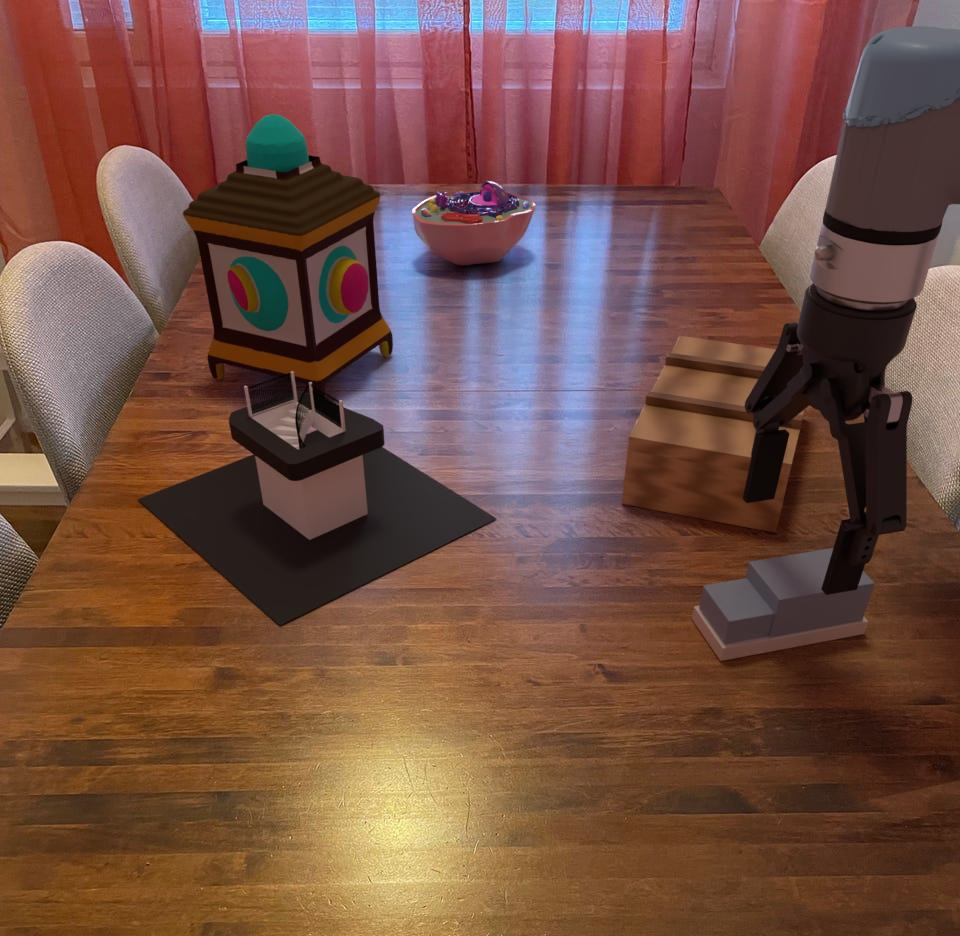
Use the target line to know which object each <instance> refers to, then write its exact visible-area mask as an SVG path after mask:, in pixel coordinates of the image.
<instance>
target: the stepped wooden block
mask: <svg viewBox="0 0 960 936" xmlns="http://www.w3.org/2000/svg"><path fill="white" fill-rule="evenodd" d="M776 349H777V348H769V347H762V346H756V345H748V344H742V343H734V342H726V341H720V340H712V339H707V338H706V339H705V338H699V337H692V336H684V335H679V337H678V338H677V340H676V343H675V345H674V346H673V348H672V349H671V352H667V354H666V356H665V361H664V362H665V363H664V366H663V368H662V370H661V372H660V373H659V376H658V378H657V380H656V382H655V383H654V386H653V388H652V390H648V392H647V394H646V395H645V401H644V406H643V408H642V410H641V411H640V414H639V416H638V417H637V420H636V421H635V423H634V426H633V428H632V429H631V431H630V433H629V435H628V441H627V451H626V458H625V459H626V461H625V469H624V478H623V486H622V487H623V488H622V496H621V504H622V505H626V506H632V507H637V508H641V509H646V510H647V509H648V510H653V511H658V512H663V513H668V514H672V515H673V514H674V515H678V516H684V517H688V518H695V519H700V520H704V521H710V522H715V523H721V524H727V525H732V526H737V527H743V528H749V529H753V530H758V531H763V532H769V533H773V534H774V533H776V532H777V529H778V524H779V520H780V516H781V513H782V508H783V504H784V500H785V496H786V491H787V487H788V483H789V478H790V474H791V470H792V466H793V461H794V457H795V453H796V449H797V444H798V440H799V436H800V432H801V428H802V424H803V420H804V416H805V412H806V408H805V409H804V410H803V411H802V412H801V413H799V414H798V415H797V416H796V417H794V418H793V419H792V420H791V422H788V423H789V424H792V425H790V426H783V427H779V430H784V429H786V430H787V431H788V432H789V433H790V434H789V439H788V443H787V447H786V451H785V455H784V460H783V464H782V468H781V472H780V477H779V481H778V485H777V489H776V493H775V498H774V499H771V500H765V501H758V502H751V503H746V502H745V501H744V500H743V494H744V490H745V485H746V480H747V476H748V471H749V466H750V462H751V452H752V447H753V443H754V437H755V433H756V429H755V428H754V426H753V419H754V415H753V413H747V412H746V410H745V401H746V399H747V398H748V396H749V394H750V392H751V391H752V389H753V387H754V386H755V384H756V382H757V381H758V379H759V377H760V376H761V374H762V372H763V371H764V369H765V367H766V366H767V364H768V362H769V361H770V359H771V357H772V355H773V354H774V352H775V350H776Z"/></svg>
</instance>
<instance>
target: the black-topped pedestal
mask: <svg viewBox="0 0 960 936" xmlns="http://www.w3.org/2000/svg"><path fill="white" fill-rule="evenodd" d="M287 375H288V377H289V375H290V378H289V379H288V378H287V379H286V376H287ZM284 376H285V379H284ZM282 377H283V378H282ZM243 389H244V395H245V402H246V406H244V407H242V408H239V409H236V410H233V411H232V412H230V414H229V417H228V424H229V425H228V426H229V430H230V435H231V436H230V437H231V439H232V440H233V441H234V442H236V443H237V444H238V445H240V446H241V447H243V448H244V449H245V450H247V451H248V452H249V453H251V454H250V455H248V456H246V457H244V458H240V459H238V460H236V461H233V462H231V463H228V464H225V465H222V466H220V467H217V468H214V469H212V470H209V471H207V472H204V473H201V474H199V475H197V476H194V477H191V478H188V479H186V480H183V481H180V482H178V483H175V484H173V485H171V486H168V487H165V488H163V489H160V490H157V491H155V492H152V493H150V494H148V495H144V496H142V497H139V498H137V500H138V501H139V502H140V504H142V506H144V507H145V508H147V510H148V511H150V512H151V513H153V514H154V515H155V517H157V518H158V519H159V520H160V521H161V522H163V523H164V525H166V526H167V527H168V528H169V529H170V530H171V531H173V532H174V533H175V534H176V535H177V536H178V537H179V538H180V539H181V540H183V541H184V542H185V543H186V544H187V545H189V546H190V547H191V548H192V549H193V550H194V552H196V553H198V554H199V555H200V556H201V557H202V558H203V559H204V560H206V562H208V563H209V564H210V565H211V566H213V568H214V569H215V570H217V571H218V572H219V573H220V574H221V575H222V576H223V577H225V578H226V579H227V580H228V581H229V582H230V583H232V585H233V586H234V587H236V588H237V589H238V590H239V591H240V592H241V593H243V594H244V595H245V596H246V597H247V598H248V599H249V600H250V601H251V602H253V603H254V604H255V605H256V606H257V607H258V608H259V609H260V610H262V612H264V613H265V614H267V616H269V617H270V618H271V619H272V620H273V621H274V622H275V623H276V624H278V625H279V626H282V625H284V624H286V623H288V622H290V621H291V620H292V621H293V620H294V619H296V618H299V617H300V616H302V615H305V614H307V613H309V612H311V611H313V610H314V609H317V608H319V607H320V606H323V605H324V604H326V603H328V602H330V601H332V600H335V599H337V598H339V597H341V596H343V595H345V594H347V593H349V592H351V591H353V590H355V589H357V588H359V587H361V586H363V585H365V584H367V583H369V582H371V581H373V580H375V579H377V578H379V577H381V576H383V575H385V574H387V573H389V572H392V571H394V570H395V569H398V568H400V567H402V566H404V565H405V564H407V563H410V562H412V561H413V560H416V559H418V558H420V557H422V556H424V555H426V554H428V553H429V552H432V551H434V550H435V549H439V548H440V547H442V546H444V545H446V544H448V543H450V542H452V541H454V540H457V539H459V538H460V537H462V536H464V535H467V534H468V533H470V532H473V531H475V530H476V529H478V528H480V527H482V526H484V525H487V524H489V523H491V522H493V521H495V520H496V519H498V518H497V517H495V516H493V515H492V514H491V513H489V512H488V511H486V510H484V509H483V508H482V507H479V506H477V504H474V503H473V502H471V501H470V500H468V499H466V498H465V497H463V496H462V495H461V494H459V493H458V492H455V491H454V490H453V489H451V488H449V487H447V486H446V485H444V484H443V483H441V482H439V481H438V480H436V479H434V478H432V477H431V476H429V475H428V474H426V473H425V472H423V471H422V470H421V469H419V468H417V467H415V466H414V465H412V464H410V463H409V462H407V461H406V460H404V459H402V458H401V457H399V456H398V455H396V454H394V453H393V452H391V451H390V450H388V449H387V448H385V447H384V446H385V443H386V441H385V428H384V424H382V423H380V422H379V421H377V420H375V419H374V418H372V417H369V416H367V415H365V414H362V413H360V412H357V411H354V410H352V409H349V408H347V407H344V401H343V400H342V399H337V398H336V397H333V396H332V395H330V394H329V393H328V392H324V391H322V390H320V389H319V388H317V387H316V386H314V385H312V382H309V384H308V385H306V387H305V389H304V390H303V391H302V390H297V385H296V381H295V377H294V372H293V371H292V372H290V373H287V374H284V375H282V376H279V377H276V376H275V377H273V378H270V379H267V380H264V381H262V382H259V383H255V384H253V385H249V386H248V385H244V386H243ZM313 389H317V390H318V391H316V392H315V391H314V390H313ZM315 394H316V395H315ZM320 394H325V396H322V395H320ZM324 398H325V399H324ZM311 427H312V428H314V429H315V430H314V431H310V432H309V430H310V429H311Z"/></svg>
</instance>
